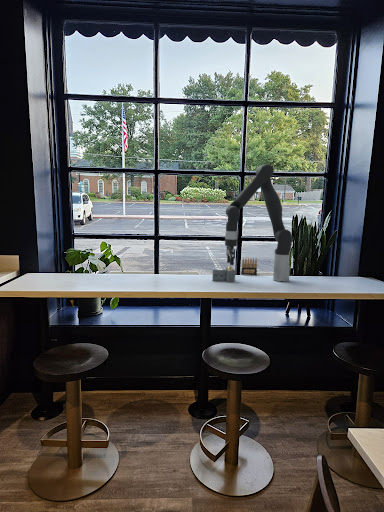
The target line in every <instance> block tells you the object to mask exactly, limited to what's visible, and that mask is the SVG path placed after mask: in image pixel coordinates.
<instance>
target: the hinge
mask: <svg viewBox="0 0 384 512" xmlns="http://www.w3.org/2000/svg"><path fill="white" fill-rule="evenodd" d="M212 282H227V283H235V282H236V269H233V268H232V271H228V266H225V268H224V269H212Z"/></svg>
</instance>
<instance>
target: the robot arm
mask: <svg viewBox="0 0 384 512" xmlns="http://www.w3.org/2000/svg"><path fill="white" fill-rule="evenodd" d="M274 172H275V170H274V167H273V166H272V165H271V164H270V163H269V164H268V163H267V164H266V163H265V164H262V165H259V166H258V167H256V170H255V177H254V178H253V180H252V181H251V182H249V184H248V185H246V186H245V187H244V189H243V190H242V191H241V192H239V194H238V196H236V198H235V199H234V200H233V201H232V202H231V203H230V204H228V206H227V207H226V209H225V215H226V216H227V222H226V224H225V235H224V245H225V247H226V254H225V255H226V263H228V264H229V265H230V266H234V264H235V259H236V248H235V247H237V246H238V224H239V218H240V210H241V209H242V208H243V207H245V206H246V205H247V204H248V202H249V201H250V200H251V199H252V197H254V195H255V194H256V192H258V190H259V189H261V191H262V196H263V200H264V203H265V207H266V211H267V213H268V217H269V219H270V223H271V227H272V232H273V237H274V240H275V241H276V242H277V246H276V248H275V249H274V260H273V276H272V277H273V278H272V280H273V279H274V280H273V281H275V280H276V282H280V281H283V282H289V281H290V272H291V271H290V270H291V266H289V265H290V255H291V254H290V252H291V250H292V244H293V235H292V232H291V231H290V230H288V229H286V228H285V225H284V221H283V206H282V202H281V199H280V197H279V195H278V193H277V192H276V190H275V188H274V186H273V183H272V179H271V178H272V177H273V175H274Z"/></svg>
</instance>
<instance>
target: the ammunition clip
mask: <svg viewBox="0 0 384 512" xmlns="http://www.w3.org/2000/svg"><path fill="white" fill-rule="evenodd" d="M257 261H258V258H257V257H253V258H252V257H248V258H247V257H245V259H244V257H242V263H241V270H240V271H241V272H240V275H242V276H257V275H258V262H257Z"/></svg>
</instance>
